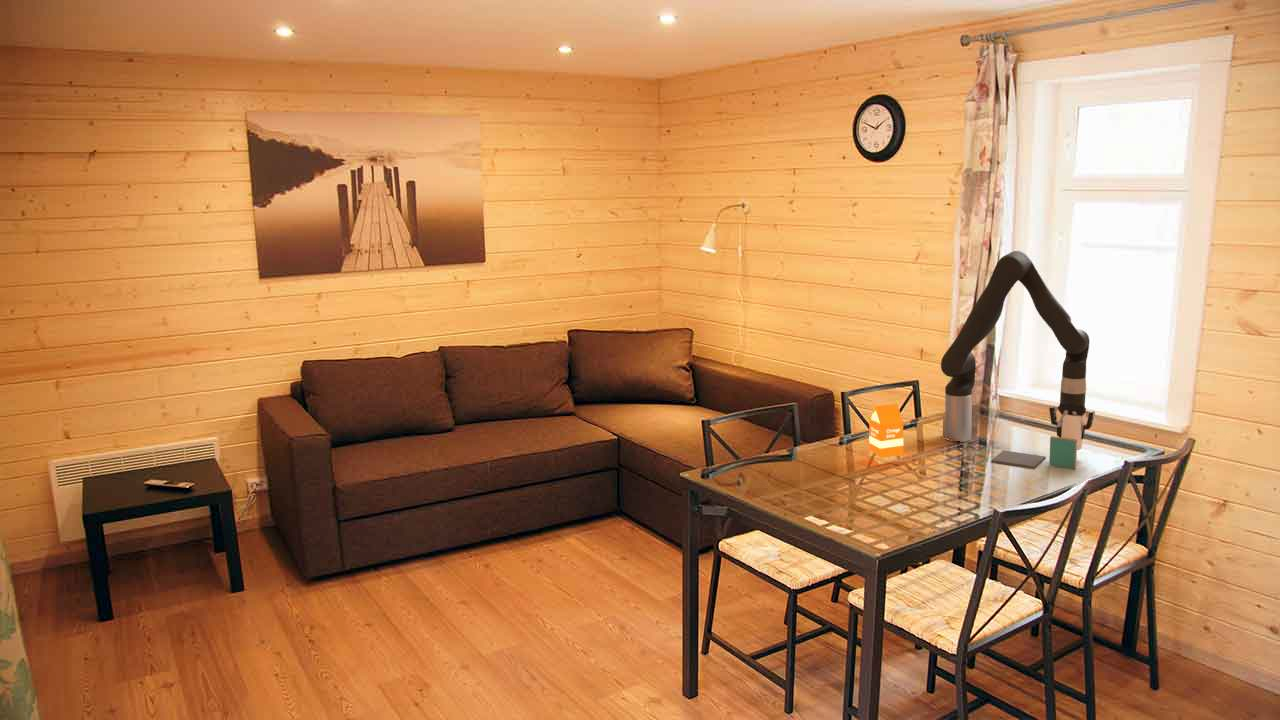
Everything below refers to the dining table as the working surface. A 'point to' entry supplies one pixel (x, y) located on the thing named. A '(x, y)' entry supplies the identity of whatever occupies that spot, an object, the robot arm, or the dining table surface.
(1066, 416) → the can
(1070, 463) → the tile
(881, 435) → the orange juice
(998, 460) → the mat
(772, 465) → the dining table surface
